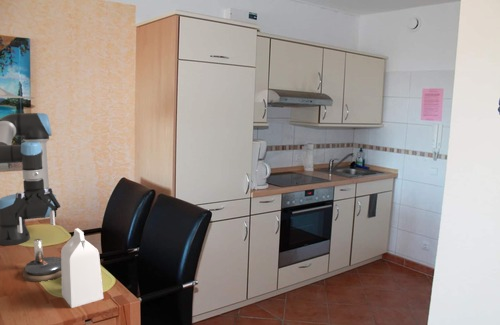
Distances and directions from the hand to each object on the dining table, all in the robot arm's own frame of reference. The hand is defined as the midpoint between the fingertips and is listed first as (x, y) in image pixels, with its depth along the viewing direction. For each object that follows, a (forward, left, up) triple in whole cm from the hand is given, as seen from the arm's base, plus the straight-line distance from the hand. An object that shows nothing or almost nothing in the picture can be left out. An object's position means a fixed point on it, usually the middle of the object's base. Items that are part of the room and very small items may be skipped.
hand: (36, 228), depth 181 cm
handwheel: (0, +5, -16) cm, 17 cm away
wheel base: (0, +5, -19) cm, 19 cm away
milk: (+1, +36, -19) cm, 41 cm away
